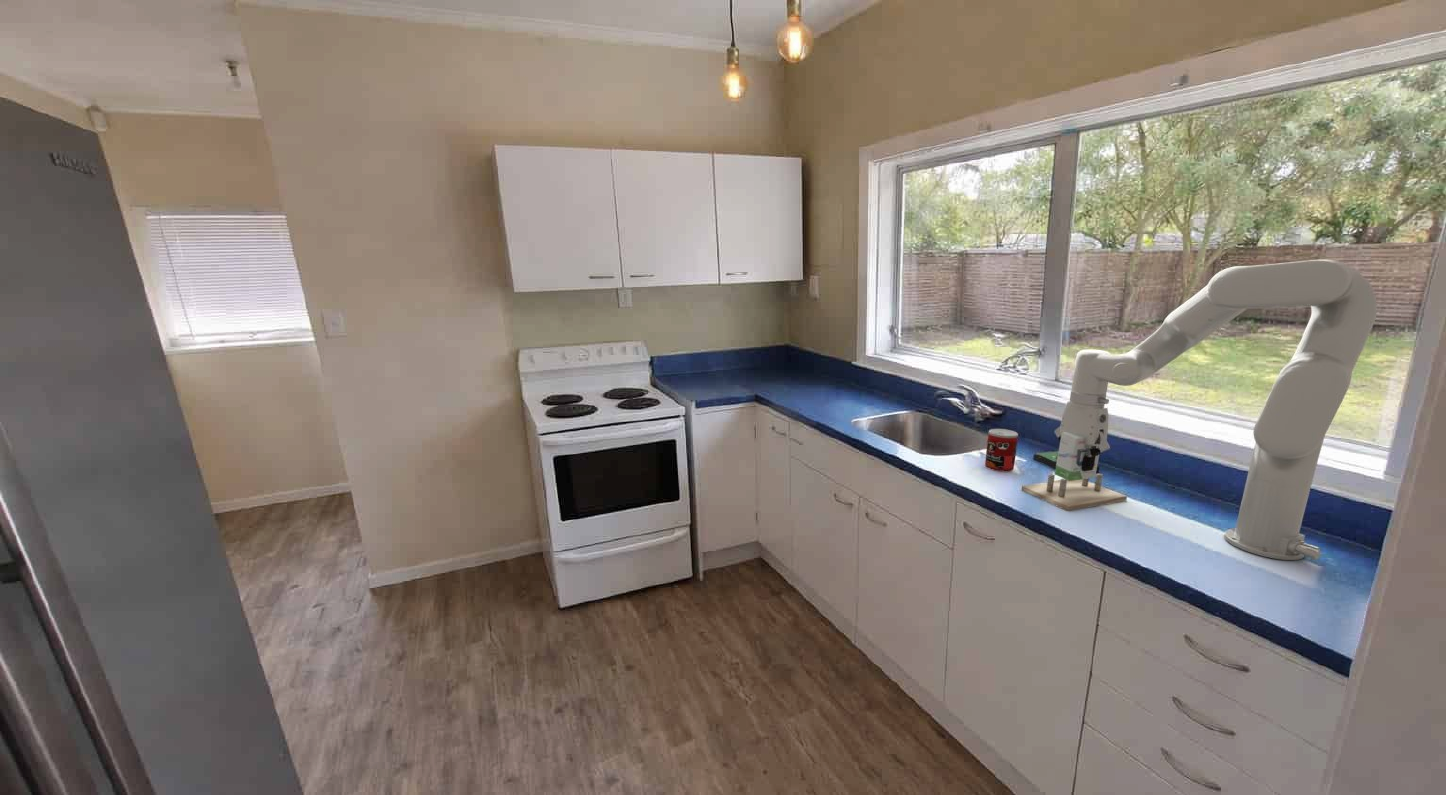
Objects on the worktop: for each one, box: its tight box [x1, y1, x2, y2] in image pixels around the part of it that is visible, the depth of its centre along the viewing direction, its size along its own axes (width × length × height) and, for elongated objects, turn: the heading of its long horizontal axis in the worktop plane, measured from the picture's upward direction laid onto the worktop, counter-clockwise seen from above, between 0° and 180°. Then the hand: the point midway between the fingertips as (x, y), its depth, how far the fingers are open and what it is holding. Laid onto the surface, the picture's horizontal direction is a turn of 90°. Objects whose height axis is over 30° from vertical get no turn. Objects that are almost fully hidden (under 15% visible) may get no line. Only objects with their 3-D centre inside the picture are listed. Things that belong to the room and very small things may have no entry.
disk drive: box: [1032, 450, 1100, 474], centre depth 170 cm, size 10×3×15 cm
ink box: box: [1054, 432, 1100, 481], centre depth 145 cm, size 9×5×12 cm, turn 105°
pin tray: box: [1021, 473, 1128, 512], centre depth 147 cm, size 14×20×6 cm
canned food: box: [984, 428, 1019, 472], centre depth 167 cm, size 8×8×11 cm
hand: (1076, 465), depth 146 cm, fingers closed on ink box, 5 cm apart
